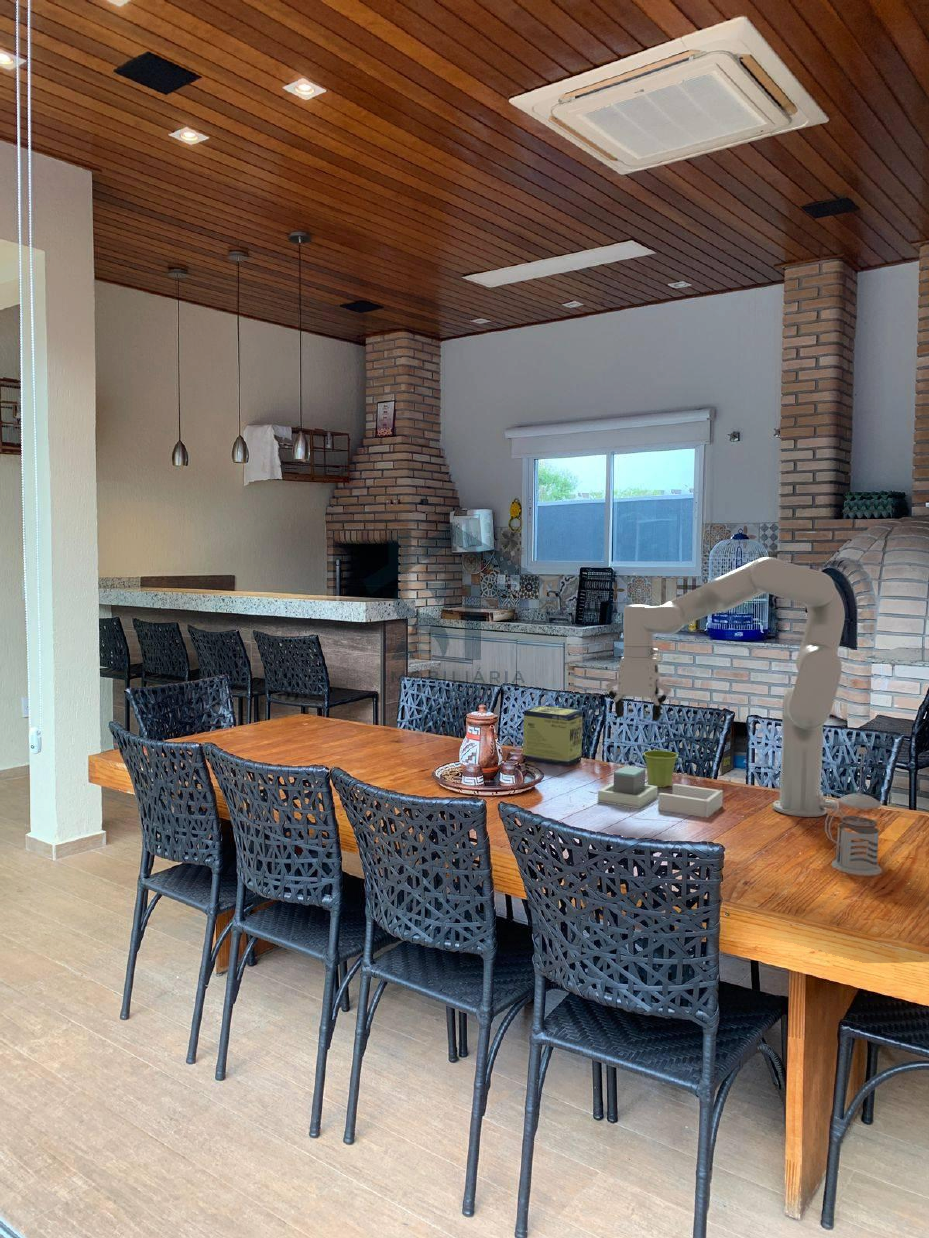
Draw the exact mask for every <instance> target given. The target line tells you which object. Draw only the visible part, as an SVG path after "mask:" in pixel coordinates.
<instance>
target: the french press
mask: <svg viewBox="0 0 929 1238" xmlns="http://www.w3.org/2000/svg"><path fill="white" fill-rule="evenodd" d="M856 753H857V754H858V755H859V754H860V772H859V773H860V775H859V792H857V793H849V794H846V795H844V796H841V797H839V798H838V799H837V802H839V804H840V805H843V806H844V807H849V808H854V809H858V813H857V814H858V815H844V814H845V812H844V810H843V809H840V807H839V808H835V809H838V810H835V809H831V810H830V811H829V813H828V814H827V816H826V818H825V821H824V831H825V833H826V836H827V838H829V840H831V841H832V842H834V843H835V844H836V854H835V855H836V858H835V859H834V860H833V861H832V862H831V863H830V866H832V868H834V869H836V870H837V871H838V872H843V873H846V874H851V875H855V876H856V875H857V876H866V877H867V876H869V877H870V876H877V875H880V874H882V872H883V869H882V868H881V867H880V866H879V865H878V852H879V851H878V850H879V829H878V828H877V826H878V825H879V823H878V822H877V821H876V820H874V819H872V818H869V817H865V816H863V817H862V816H860V809H863V810H864V809H865V810H867V809H868V810H871V809H873V810H874V809H878V808H880V807H881V806H882V803H881V802H880V801H879V800H877V799H876V798H874V797H872V796H871V795H868V794H864V793H861V789H862V787H861V785H862V768H863V767H862V766H863V755H867V754H868V750H867V748H865V747H858V748H857V749H856ZM834 811H836V812H834ZM833 812H834V814H833V815H832V816H831V818H830V821H829V824H828V827H827V822H828V819H829V817H830V815H831V814H832V813H833ZM841 812H842V814H841ZM837 813H838V815H839V816H840V819H839V821H840V822H841V823H840V824H838V825H837V840H834V838H833V836H832V832H831V823H832V821H833V818H834V817H835V816H836V815H837ZM827 828H828V830H827ZM844 829H849V830H851V831H853V832H851V831H848V830H844ZM840 831H841V832H840ZM856 840H860V841H859V842H858V841H856ZM857 846H859V847H857ZM860 847H862V848H860ZM859 853H862V854H859Z"/></svg>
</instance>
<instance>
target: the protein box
mask: <svg viewBox="0 0 929 1238" xmlns="http://www.w3.org/2000/svg"><path fill="white" fill-rule="evenodd" d="M522 733H523V736H522V737H523V738H522V756H523V755H524V757H525V760H524V761H528V762H535V763H536V762H537V763H543V764H549V765H554V766H555V765H556V766H561V767H569V766H571V765H573V764H576V763H577V761H578V760H579V759H580V761H581V760H582V741H583V739H582V737H583V710H581V709H570V708H562V707H561V708H560V707H552V706H546V705H545V706H543V705H538V706H535V707H534V706H533V707H532V708H528V709H524V710H523V731H522ZM578 762H579V761H578Z"/></svg>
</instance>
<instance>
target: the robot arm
mask: <svg viewBox="0 0 929 1238" xmlns="http://www.w3.org/2000/svg"><path fill="white" fill-rule="evenodd" d="M764 594H769V595H773V596H774V597H775V596H776V597H779V598H783V599H786V600H789V601H792V602H796V603H799V604H803V605H804V606H805V607H806V611H807V619H806V624H805V628H804V629H805V630H804V632H803V635H802V640H801V643H800V647H799V649H798V652H797V656H796V660H795V668H796V670H797V676H796V679H795V683H794V686H792V687H791V688H790V689H787V692H786V693H785V694H784V697H783V700H782V705H781V706H782V707H781V709H782V710H781V711H782V712H781V715H782V716H781V717H782V737H781V738H782V740H781V757H780V759H781V761H780V782H779V783H780V784H779V785H780V787H779V788H780V789H779V800H776V801H774V802H773V803H772V809H774V811H777V812H779V813H781V814H784V815H789V816H794V817H802V818H803V817H804V818H815V817H816V818H817V817H822V816H824V815H826V814H827V809H830V810H833V809H835V808H839V809H840V805H839V804H840V802H839V801H836V799H829V798H828V799H826V798H825V797H824V793H823V792H822V791H821V789H822V770H823V769H822V762H823V750H824V749H823V748H824V747H823V746H824V745H823V744H824V725H825V723H826V722H827V721H828V719H829V718H830V716H831V712H832V710H833V709H832V708H833V706H834V702H835V700H836V699H835V698H836V695H837V692H838V688H839V685H840V680H841V678H842V677H841V676H842V669H843V667H842V666H843V665H842V660H841V658H840V656H839V655H838V651H839V647H840V643H841V639H842V634H843V630H844V624H845V617H846V616H845V615H846V614H845V613H846V612H845V607H844V603H843V599H842V597H841V595H840V593H839V591H838V589H837V588H836V585H835V581H834V580H833V579H832V577H831V576H830V574H827V573H825V572H823V571H819V570H816V569H811V568H808V567H806V566H805V567H804V566H802V565H797V564H795V563H790V562H788V561H784V560H781V559H778V558H775V557H770V556H763V557H760V558H758V559H754V560H753V561H750V562H749V563H747V564H744V565H742V566H740V567H738V568H736V569H734V570H731V571H729V572H727V573H726V574H723V575H721V576H719V577H716V578H714V579H712V580H710V581H708V582H706V583H704V584H703V585H701V586H699V587H697V588H695V589H692V590H691V591H689V592H687V593H684V594H682V595H680V596H678V597H676V598H674V599H671V600H669V601H666V602H665V603H663V604H661V605H658V606H657V605H656V606H651V605H650V604H638V603H637V604H628V605H626V606H625V607H624V609H623V656H622V657H620V661H619V667H618V675H617V679H615V680H612V681H610V682H608V683H606V684H605V688H606V690H607V692H608V695H609V696H610V698H612V701H613V702H614V703H615V706H614V709H615V710H614V711H615V715H616V718H618V719H620V718H621V717H623V716H624V714H625V713H624V711H625V710H624V706H625V705H624V700H623V699H624V698H625V697H635V698H636V697H637V698H646V699H647V698H648V699H650V700H651V701H652V703H653V705H652V713H651V714H652V717H651V718H652V721H653V722H657V721H658V720H660V718H661V717H662V716H661V715H662V714H661V711H662V704H663V703H664V702H665V701H666V700H667V699H669V696H670V694H671V692H672V688H671V687H669V686H668V685H666V684H664V683H663V682H661V681H660V673H659V663H658V659H657V657H654V656H656V655H659V653H660V652H659V651H660V650H659V649H658V648H655V645H654V634H661V635H662V634H663V635H673V634H677V633H678V632H680V631H681V629H683V628H684V627H685V626H687V625H688V624H691V623H693V622H695V621H697V620H700V619H702V618H705V617H707V616H710V615H713V614H719V613H724V612H727V611H730V610H732V609H734V608H735V607H739V606H740V605H743V604H745V603H747V602H749V601H751V600H753V599H756V598H758V597H760V596H763V595H764ZM615 686H617V692H616V691H615V689H614V687H615ZM660 690H662V691H663V693H662V695H661V696H660V695H659V694H660V692H661V691H660ZM839 809H835V810H834V811H839Z"/></svg>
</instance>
